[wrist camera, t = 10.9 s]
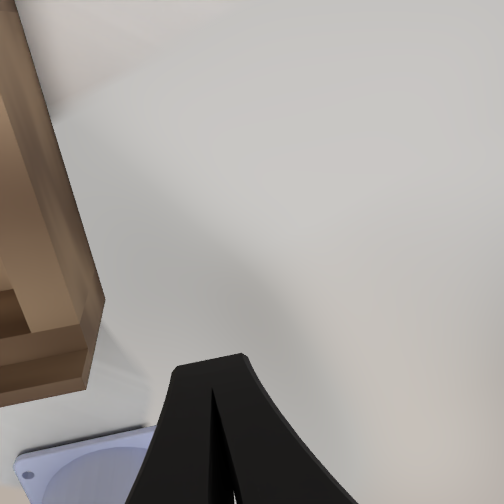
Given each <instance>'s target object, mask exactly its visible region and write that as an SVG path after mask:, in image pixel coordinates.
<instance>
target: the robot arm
mask: <svg viewBox="0 0 504 504" xmlns="http://www.w3.org/2000/svg"><path fill="white" fill-rule="evenodd" d="M13 469H14V471H15V473H16V475H17V477H18V479H19V481H20V483H21V485H22V487H23V489H24V491H25V493H26V495H27V497H28V499H29V501H30V503H31V504H234V495H235V499H236V503H237V504H358V503H357V502H356V501H355V500H354V499H353V498H352V497H351V496H350V495H349V493H348V492H346V490H345V489H344V488H343V487H342V486H341V485H340V484H339V483H338V482H337V481H336V479H335V478H334V477H333V476H332V475H331V474H330V473H329V472H328V470H327V469H326V468H325V467H324V466H323V465H322V464H321V462H320V461H319V460H318V459H317V458H316V457H315V455H314V454H313V453H312V452H311V451H310V449H309V448H308V447H307V446H306V445H305V443H304V442H303V441H302V440H301V438H299V436H298V435H297V433H296V432H295V431H294V429H293V428H292V427H291V425H290V424H289V423H288V421H287V420H286V419H285V417H284V416H283V415H282V414H281V412H280V411H279V409H278V408H277V407H276V405H275V404H274V402H273V401H272V399H271V398H270V396H269V395H268V393H267V392H266V390H265V388H264V387H263V385H262V384H261V382H260V381H259V379H258V377H257V375H256V373H255V372H254V369H253V367H252V366H251V363H250V361H249V359H248V357H247V356H246V355H244V354H242V353H239V354H234V355H230V356H224V357H219V358H215V359H210V360H205V361H200V362H195V363H190V364H185V365H180V366H177V367H176V368H175V369H174V370H173V372H172V375H171V379H170V384H169V387H168V391H167V395H166V399H165V402H164V405H163V408H162V411H161V414H160V417H159V420H158V423H157V425H155V426H150V427H146V428H141V429H137V430H132V431H127V432H123V433H118V434H113V435H109V436H104V437H100V438H95V439H90V440H86V441H81V442H76V443H72V444H67V445H63V446H58V447H53V448H49V449H44V450H40V451H35V452H30V453H26V454H22V455H19V456H18V457H17V458H16V460H15V462H14V465H13ZM27 471H30V472H27Z"/></svg>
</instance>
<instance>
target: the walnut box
mask: <svg viewBox="0 0 504 504" xmlns="http://www.w3.org/2000/svg"><path fill="white" fill-rule="evenodd" d="M104 304H105V296H104V293H103V289H102V286H101V283H100V280H99V277H98V273H97V270H96V267H95V263H94V260H93V257H92V254H91V251H90V247H89V244H88V241H87V237H86V234H85V231H84V227H83V224H82V221H81V218H80V214H79V211H78V208H77V204H76V201H75V198H74V195H73V192H72V188H71V185H70V182H69V178H68V175H67V172H66V168H65V165H64V162H63V159H62V155H61V152H60V149H59V146H58V142H57V139H56V136H55V133H54V129H53V126H52V123H51V119H50V116H49V113H48V110H47V106H46V103H45V100H44V96H43V93H42V90H41V87H40V83H39V80H38V77H37V74H36V70H35V67H34V64H33V60H32V57H31V54H30V51H29V47H28V44H27V41H26V38H25V34H24V31H23V28H22V24H21V21H20V18H19V15H18V11H17V8H16V5H15V2H14V0H0V407H4V406H9V405H14V404H19V403H24V402H29V401H33V400H38V399H43V398H48V397H53V396H58V395H62V394H67V393H72V392H77V391H82V390H86V388H87V383H88V378H89V374H90V369H91V364H92V360H93V355H94V350H95V346H96V341H97V336H98V332H99V327H100V322H101V318H102V313H103V308H104Z"/></svg>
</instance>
